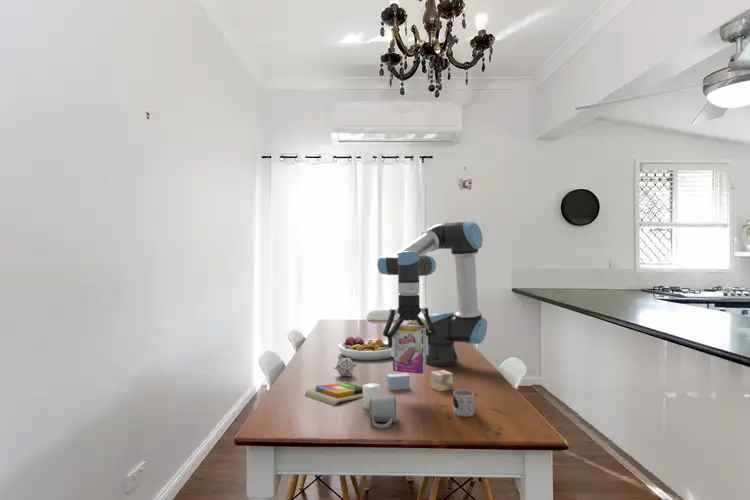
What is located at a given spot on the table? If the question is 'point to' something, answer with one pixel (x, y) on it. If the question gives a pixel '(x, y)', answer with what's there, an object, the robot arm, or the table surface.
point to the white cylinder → (370, 393)
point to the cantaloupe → (417, 323)
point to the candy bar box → (410, 349)
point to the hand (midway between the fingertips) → (409, 355)
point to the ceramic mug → (382, 410)
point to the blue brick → (398, 381)
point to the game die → (345, 366)
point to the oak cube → (441, 380)
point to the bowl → (365, 349)
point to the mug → (463, 403)
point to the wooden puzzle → (335, 392)
